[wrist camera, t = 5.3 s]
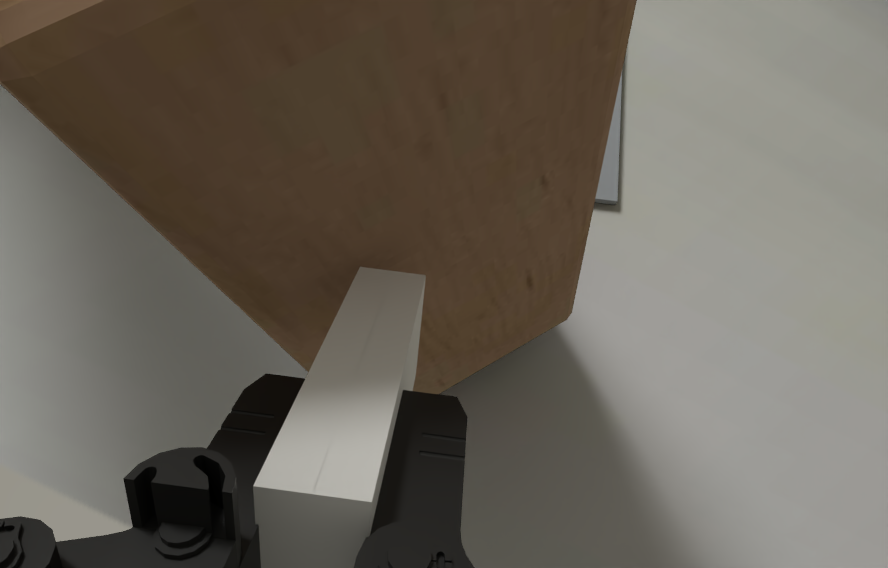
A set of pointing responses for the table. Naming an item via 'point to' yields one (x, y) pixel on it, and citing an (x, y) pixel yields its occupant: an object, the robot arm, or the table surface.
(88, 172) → the table surface
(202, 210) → the wooden block
